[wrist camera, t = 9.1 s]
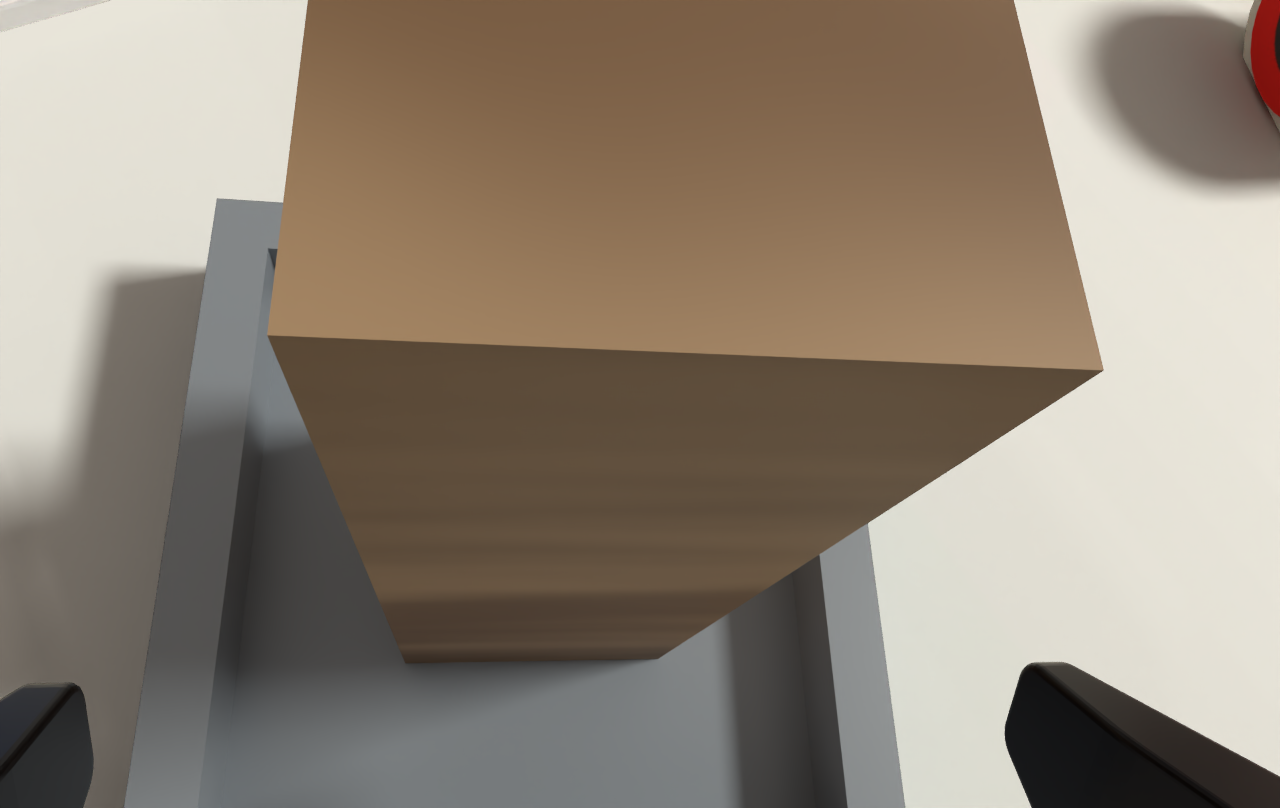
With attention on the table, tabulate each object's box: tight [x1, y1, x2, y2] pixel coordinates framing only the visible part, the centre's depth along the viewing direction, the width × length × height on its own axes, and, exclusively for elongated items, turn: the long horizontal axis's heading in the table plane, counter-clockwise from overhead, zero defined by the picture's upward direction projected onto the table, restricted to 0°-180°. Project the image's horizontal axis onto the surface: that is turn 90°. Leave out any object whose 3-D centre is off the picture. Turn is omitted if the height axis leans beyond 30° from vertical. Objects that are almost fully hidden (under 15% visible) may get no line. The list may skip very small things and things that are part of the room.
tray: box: [124, 198, 905, 808], centre depth 17 cm, size 12×12×2 cm
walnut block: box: [267, 0, 1103, 663], centre depth 12 cm, size 4×4×13 cm
